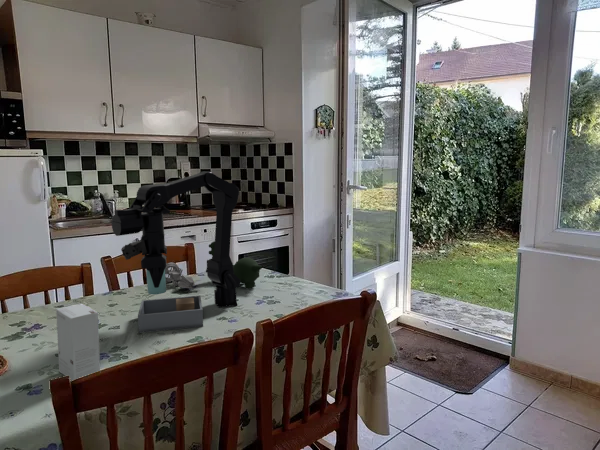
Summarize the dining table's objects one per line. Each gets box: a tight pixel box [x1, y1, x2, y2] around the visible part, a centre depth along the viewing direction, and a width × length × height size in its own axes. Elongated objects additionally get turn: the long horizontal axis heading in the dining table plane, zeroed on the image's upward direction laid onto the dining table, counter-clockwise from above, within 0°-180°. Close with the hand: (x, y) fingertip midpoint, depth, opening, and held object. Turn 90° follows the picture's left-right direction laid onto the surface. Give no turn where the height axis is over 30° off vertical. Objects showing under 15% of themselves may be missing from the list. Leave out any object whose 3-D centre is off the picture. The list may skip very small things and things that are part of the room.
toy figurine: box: [208, 240, 263, 290], centre depth 161 cm, size 10×19×26 cm
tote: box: [137, 295, 204, 334], centre depth 126 cm, size 17×13×5 cm
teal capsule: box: [145, 269, 167, 295], centre depth 122 cm, size 5×5×7 cm
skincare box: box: [55, 302, 101, 381], centre depth 94 cm, size 8×6×15 cm
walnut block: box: [176, 298, 194, 311], centre depth 127 cm, size 5×5×5 cm
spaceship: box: [165, 262, 196, 290], centre depth 166 cm, size 8×35×8 cm
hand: (156, 284), depth 122 cm, fingers closed on teal capsule, 5 cm apart
